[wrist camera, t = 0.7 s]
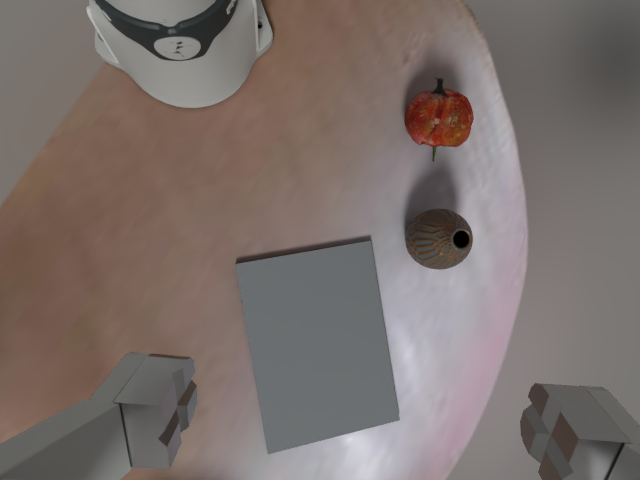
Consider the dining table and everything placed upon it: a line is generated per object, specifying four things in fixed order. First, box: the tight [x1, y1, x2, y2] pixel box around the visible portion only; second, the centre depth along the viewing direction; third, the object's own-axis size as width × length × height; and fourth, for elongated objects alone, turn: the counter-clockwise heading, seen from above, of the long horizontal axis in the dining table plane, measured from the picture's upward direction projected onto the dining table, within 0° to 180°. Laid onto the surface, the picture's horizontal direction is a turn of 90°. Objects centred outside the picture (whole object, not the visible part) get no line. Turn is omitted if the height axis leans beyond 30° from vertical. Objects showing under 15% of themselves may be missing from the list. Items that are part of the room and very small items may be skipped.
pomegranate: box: [405, 77, 474, 161], centre depth 44 cm, size 7×7×10 cm
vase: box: [405, 209, 473, 269], centre depth 43 cm, size 7×7×9 cm
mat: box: [235, 241, 400, 454], centre depth 45 cm, size 22×16×1 cm
